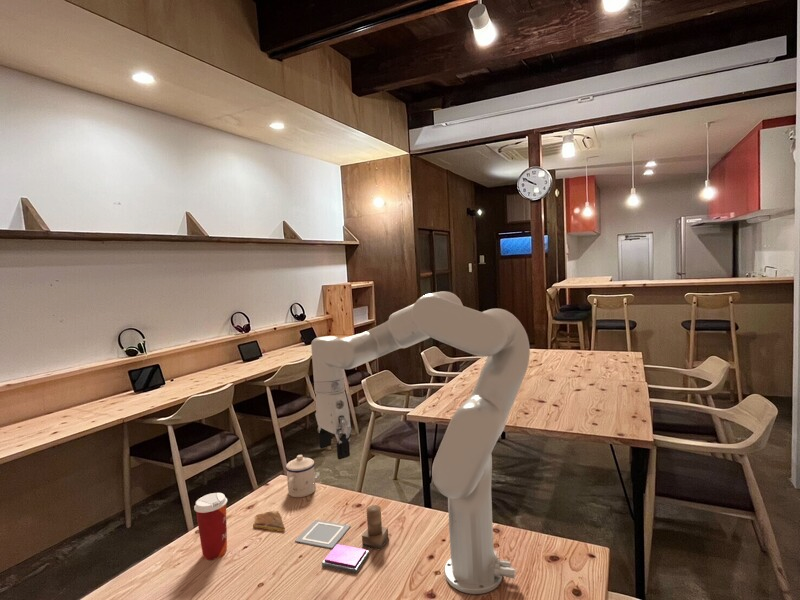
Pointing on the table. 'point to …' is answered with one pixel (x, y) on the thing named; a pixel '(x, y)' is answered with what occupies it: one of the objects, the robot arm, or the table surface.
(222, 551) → the paper cup
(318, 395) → the robot arm
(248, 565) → the table surface
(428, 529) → the table surface
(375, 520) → the stamp
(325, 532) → the marked card
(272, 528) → the shard
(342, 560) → the ink pad
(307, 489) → the teacup with lid
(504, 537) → the table surface
